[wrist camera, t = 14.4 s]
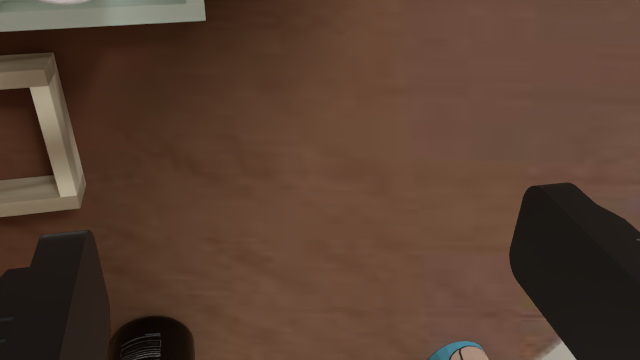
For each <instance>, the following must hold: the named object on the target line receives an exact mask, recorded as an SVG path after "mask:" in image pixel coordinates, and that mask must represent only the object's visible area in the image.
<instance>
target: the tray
mask: <svg viewBox="0 0 640 360" xmlns="http://www.w3.org/2000/svg"><path fill="white" fill-rule="evenodd" d="M190 21H206V16H205V6H204V0H90V1H87V2H83V3H77V4H52V3H47V2H42V1H39V0H0V32H6V31H24V30H43V29H61V28H79V27H98V26H116V25H135V24H153V23H171V22H190Z"/></svg>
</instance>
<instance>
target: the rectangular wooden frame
mask: <svg viewBox="0 0 640 360" xmlns="http://www.w3.org/2000/svg"><path fill="white" fill-rule="evenodd" d="M29 87H30V90H31V94H32V98H33V101H34V105H35V108H36V112H37V115H38V119H39V123H40V126H41V130H42V133H43V137H44V140H45V144H46V147H47V151H48V155H49V158H50V162H51V165H52V169H53V172H54V175H50V176H40V177H30V178H20V179H10V180H0V217H7V216H16V215H25V214H34V213H42V212H51V211H60V210H69V209H78V208H81V204H82V200H83V195H84V191H85V187H86V182H85V178H84V174H83V170H82V166H81V162H80V158H79V154H78V149H77V145H76V141H75V137H74V133H73V129H72V125H71V121H70V117H69V113H68V109H67V105H66V101H65V97H64V93H63V89H62V85H61V81H60V77H59V73H58V69H57V65H56V61H55V57H54V53H53V52H50V53H34V54H18V55H2V56H0V90H1V89H15V88H29Z"/></svg>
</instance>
